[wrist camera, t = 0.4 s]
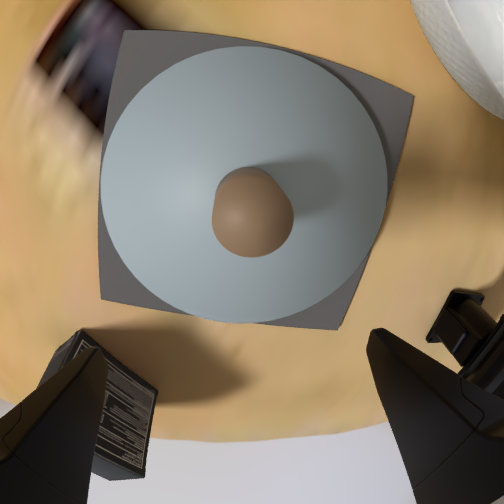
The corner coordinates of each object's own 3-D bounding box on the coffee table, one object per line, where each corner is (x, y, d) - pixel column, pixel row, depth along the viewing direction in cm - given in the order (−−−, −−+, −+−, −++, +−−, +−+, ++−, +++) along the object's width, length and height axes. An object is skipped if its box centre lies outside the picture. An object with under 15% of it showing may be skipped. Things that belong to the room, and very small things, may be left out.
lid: (406, 99, 16) (451, 99, 12) (334, 325, 24) (353, 366, 20) (129, 36, 13) (100, 14, 9) (106, 295, 21) (83, 335, 17)
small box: (52, 351, 24) (14, 427, 15) (80, 326, 23) (36, 415, 13) (125, 407, 28) (108, 483, 19) (160, 390, 27) (148, 479, 17)
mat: (410, 96, 17) (413, 95, 16) (336, 327, 25) (337, 330, 24) (126, 32, 14) (124, 30, 13) (102, 296, 22) (101, 299, 21)
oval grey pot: (525, 51, 13) (571, 54, 7) (480, 156, 19) (539, 177, 12) (417, -72, 9) (457, -97, 2) (339, 10, 14) (388, -28, 7)
